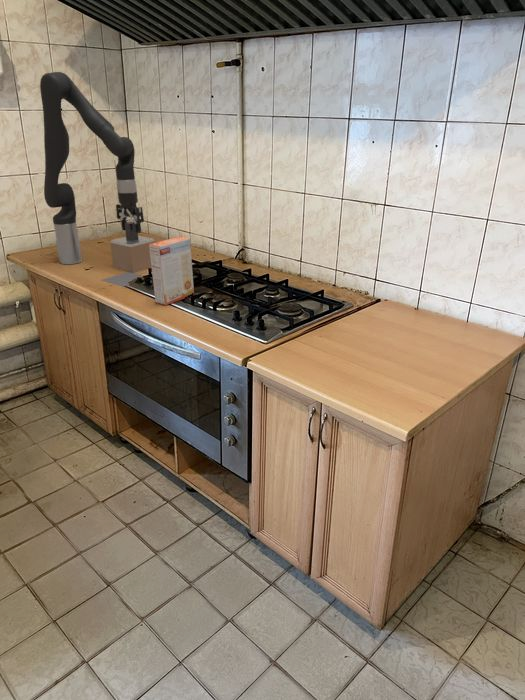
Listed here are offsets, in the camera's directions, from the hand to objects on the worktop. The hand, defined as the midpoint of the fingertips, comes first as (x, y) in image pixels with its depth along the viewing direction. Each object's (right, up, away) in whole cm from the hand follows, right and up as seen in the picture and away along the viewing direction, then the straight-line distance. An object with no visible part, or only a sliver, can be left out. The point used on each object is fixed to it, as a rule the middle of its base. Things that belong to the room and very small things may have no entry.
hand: (131, 231), depth 219 cm
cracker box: (+23, -31, -30) cm, 49 cm away
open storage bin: (0, -14, +6) cm, 15 cm away
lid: (0, -4, +2) cm, 4 cm away
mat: (0, -21, -9) cm, 23 cm away
